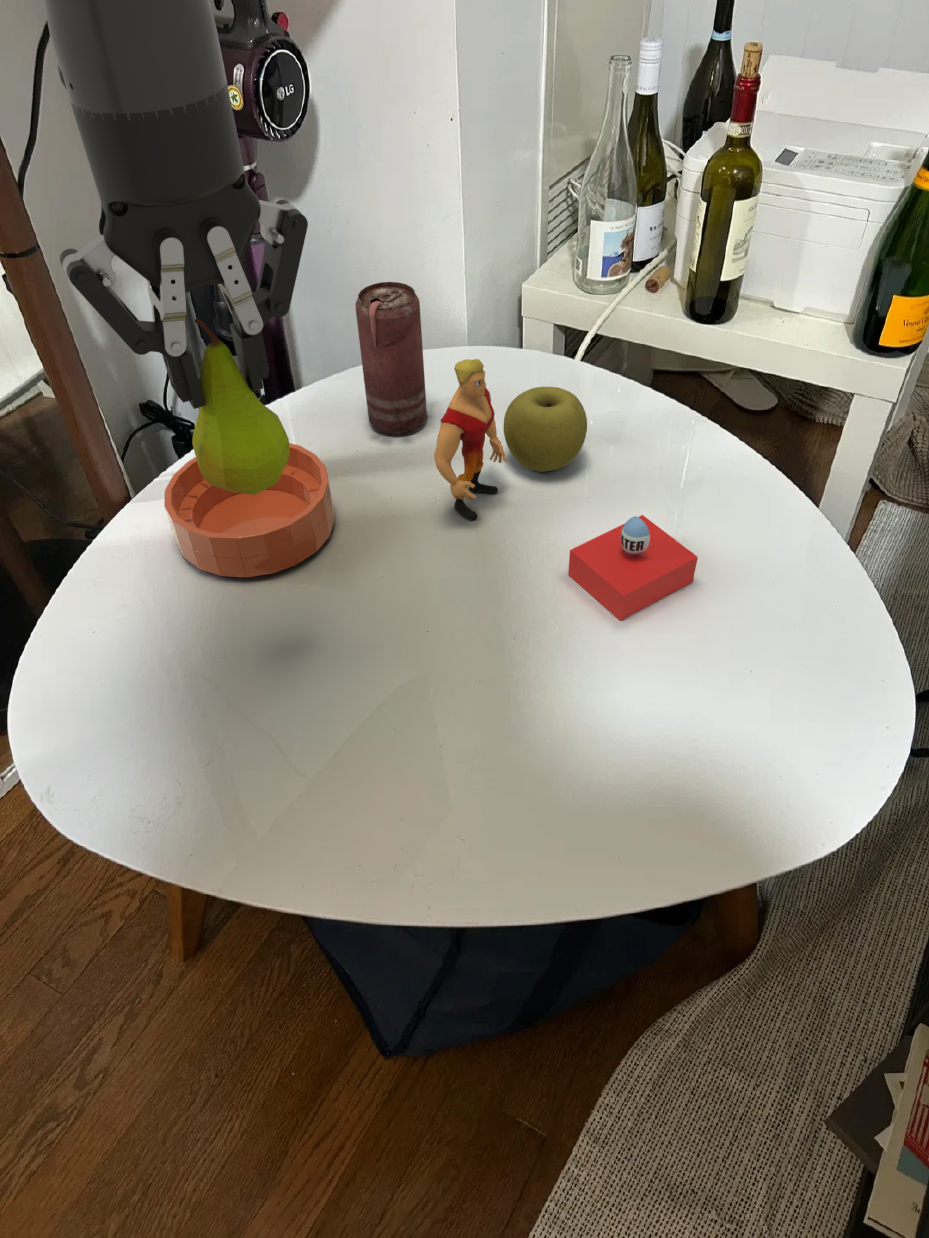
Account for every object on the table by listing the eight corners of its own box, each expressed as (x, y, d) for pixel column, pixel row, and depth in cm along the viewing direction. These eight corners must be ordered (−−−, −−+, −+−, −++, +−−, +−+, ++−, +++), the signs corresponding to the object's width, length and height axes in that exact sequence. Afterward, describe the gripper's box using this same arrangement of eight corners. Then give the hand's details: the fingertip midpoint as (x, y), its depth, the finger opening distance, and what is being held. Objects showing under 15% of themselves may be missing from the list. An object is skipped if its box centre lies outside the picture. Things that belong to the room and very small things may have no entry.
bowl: (207, 603, 78) (194, 559, 74) (159, 514, 87) (144, 470, 83) (360, 546, 82) (354, 501, 79) (299, 466, 91) (291, 423, 88)
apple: (574, 491, 87) (579, 427, 82) (493, 477, 89) (493, 413, 84) (591, 446, 92) (597, 383, 87) (514, 434, 94) (515, 372, 89)
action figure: (468, 537, 83) (463, 390, 72) (433, 526, 84) (423, 380, 74) (513, 480, 89) (515, 336, 78) (480, 470, 90) (477, 327, 79)
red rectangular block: (620, 620, 75) (627, 562, 70) (568, 574, 79) (572, 517, 75) (692, 581, 78) (704, 523, 73) (639, 539, 82) (646, 481, 78)
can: (360, 435, 95) (344, 307, 85) (379, 402, 99) (365, 276, 89) (417, 442, 94) (407, 312, 84) (433, 408, 98) (426, 281, 88)
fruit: (315, 485, 62) (287, 317, 53) (236, 526, 59) (193, 356, 50) (262, 445, 65) (227, 282, 57) (185, 483, 62) (136, 316, 54)
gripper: (10, 131, 40) (127, 459, 52) (311, 74, 45) (353, 388, 57) (-16, 88, 45) (97, 398, 57) (258, 40, 49) (308, 337, 62)
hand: (224, 391), depth 57 cm, fingers closed on fruit, 3 cm apart
